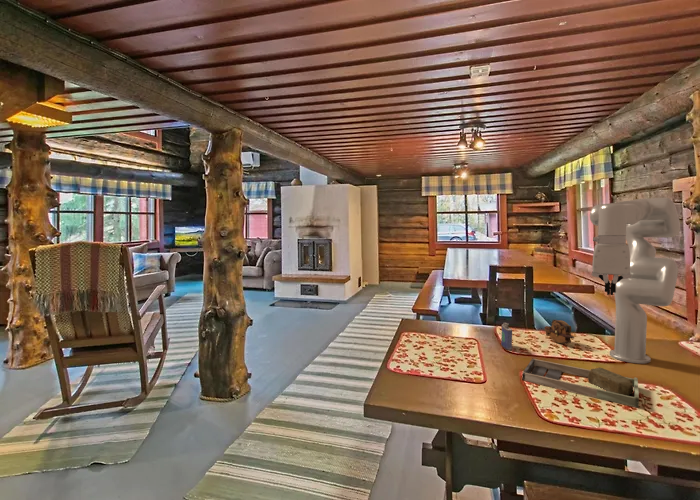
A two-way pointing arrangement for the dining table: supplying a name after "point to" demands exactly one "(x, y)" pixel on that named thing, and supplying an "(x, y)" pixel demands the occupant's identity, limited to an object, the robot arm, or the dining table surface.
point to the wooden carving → (559, 331)
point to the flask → (506, 337)
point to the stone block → (610, 381)
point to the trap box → (553, 381)
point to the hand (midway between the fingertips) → (610, 294)
